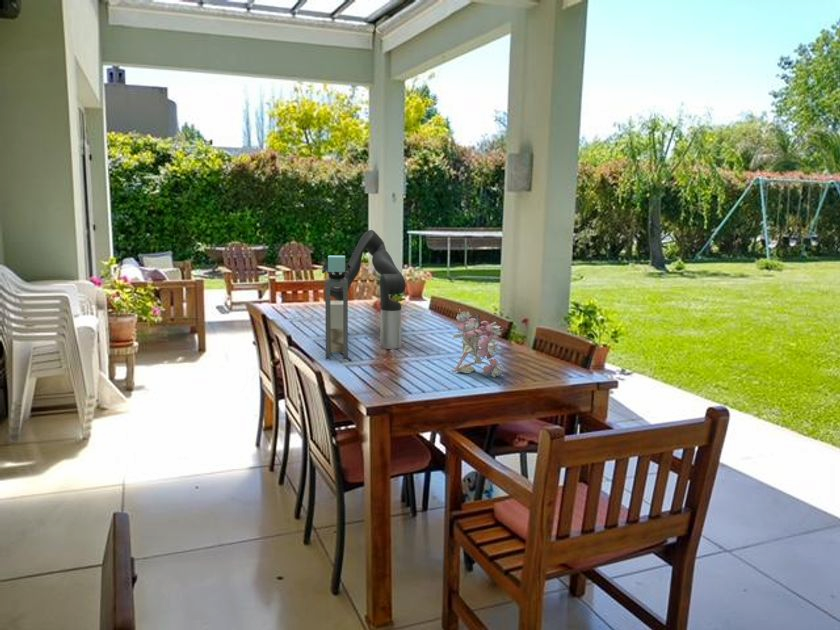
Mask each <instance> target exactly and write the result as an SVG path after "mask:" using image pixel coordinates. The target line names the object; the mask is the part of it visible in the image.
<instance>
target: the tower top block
mask: <svg viewBox="0 0 840 630" xmlns="http://www.w3.org/2000/svg"><path fill="white" fill-rule="evenodd" d="M330 308H331V329H343V301H338V300H330Z"/></svg>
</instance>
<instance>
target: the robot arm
mask: <svg viewBox="0 0 840 630" xmlns="http://www.w3.org/2000/svg"><path fill="white" fill-rule="evenodd" d="M365 250H366V251H367V253H369V254H370V255H371V257H372V259H371V263H372V266H373V268H374V271H376V272H377V274H379V275H380V279H379V291H380V292H379V294H380V295H379V296H380V298H379V299H380V341H379V342H380V346H379V347H380V348H381V349H387V350H388V349H389V350H393V349H394V350H396V349H402V330H403V329H402V303H401V302H398V301H396V300H393V299H392V298H390V296H391V295H393V296H394V295H401V294H403V293H404V292H405V291H406V284H407V283H406V280H405V277H404V275H403V274H402V272H400V270H399V269H398V268H397V265H395V262H394V260H393V258H392V257H391V255H390V253H389V252H388V251H387V248H386V245H385V242H384V241H383V239H382V237H380V235H378V233H376V231H374V230H372V229H368V230H367V231H366V232H363V234H362V235H361V237H360V239H359V240H358V242H357V245H356V246H355V249H354V251H353V252H352V254H351V257H350V259H349V261H348V262H345V272H328V262H325V264H323V265H322V267H321V273H322V274H325V273H327V274H328V279H348V292H349V290H350V288H351V285H352V284H353V282H354V280H355V279H356V277H357V276H358V275H359V272H360V270H361V265H362V258H363V254H364V252H365ZM330 297H332V298H333V299H335V300H336V301H343V287H330Z"/></svg>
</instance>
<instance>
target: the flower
mask: <svg viewBox="0 0 840 630" xmlns="http://www.w3.org/2000/svg"><path fill="white" fill-rule="evenodd" d="M458 310H459V313H457V314H456V315H457V316H455V318H456V320H457V322H458V323H459V324H458V325H457V331H459V332H463V331H465V327H466V329H467V330H469V331H468V332H466V333H465V334H463V333H458V334H454V335H453V337H452V338H451V340H454V339H459V338H462V340H461V342H460V343H461V344H463V343H465V344H466V346H465V348H464V351H463V350H462V353H461V355H462V356H461V358H460V359H459V362H458V363H457V364H456V366H455V368H454V369H453V370H451V371H450V372H451V373H452V372H453V373H457V372H459V373H460V372H461V373H464V374H466V373H469V374H471V373H473V371H476V368H475V367H474V366H473V365H475V364H477V365H482V364H486V365H484V366H483V368H482V369H483V374H485V375H488V374H491V377H493V378H496V376H497V377H498V375H501V376H504V374H502V373H503V369H504V366H503V365H501V364H500V365H499V363H498V359H497V358H496V357H495V358H494V356H495V354H494V353H497V354H498V351H497V350H501V348H500V347H499V346H500V344H499V343H498V341H497V340H495V339H497V338H499V336H500V335H501V334H502V330H503V328H502V329H501V326H500V325H498V324H497V322H496V321H494V322H492V323H489V321H487V320H483V321H482V320H481V321H480V328H479V329H478V330H477V327H478V325H479V323H478V322H477V321H476V319H475V318H470V319H469V317H470V314H471V313H470V312H469V310H467V311H465V310H464V311H461V309H460V308H459V309H458ZM475 333H477V335H475V336H474V334H475ZM467 336H468V337H469V340H468V337H467ZM481 337H482V338H483V339H482V338H481ZM463 338H464V339H465V340H466V341H464V340H463ZM476 341H478V345H477V346H479V349H478V351H477V353H475V352H473V353H469V352H470V351H474V350H473V348H475V347H477V346H474V347H472V346H473V344H474V342H476ZM471 342H473V343H472V345H471ZM468 355H470V356H473V357H475V358H473V362H471V363H465V362H464V360H465V359H466V357H467V356H468ZM481 357H482V358H481ZM485 357H486V359H487V360H488V362H489V363H488V362H485V361H482V360H483V359H485ZM463 362H464V363H463Z"/></svg>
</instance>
